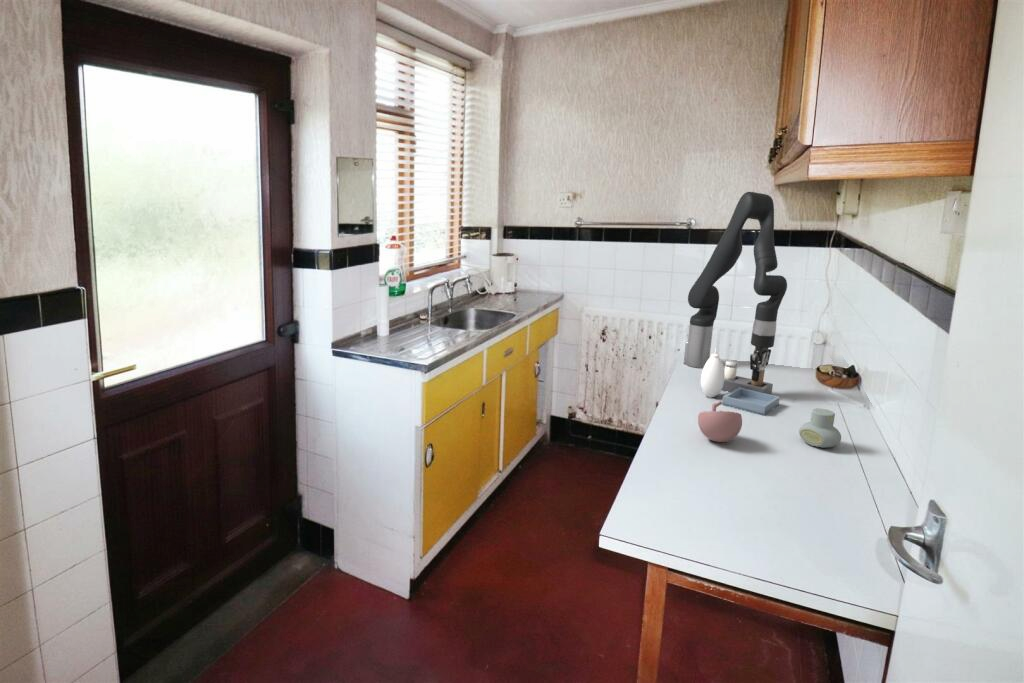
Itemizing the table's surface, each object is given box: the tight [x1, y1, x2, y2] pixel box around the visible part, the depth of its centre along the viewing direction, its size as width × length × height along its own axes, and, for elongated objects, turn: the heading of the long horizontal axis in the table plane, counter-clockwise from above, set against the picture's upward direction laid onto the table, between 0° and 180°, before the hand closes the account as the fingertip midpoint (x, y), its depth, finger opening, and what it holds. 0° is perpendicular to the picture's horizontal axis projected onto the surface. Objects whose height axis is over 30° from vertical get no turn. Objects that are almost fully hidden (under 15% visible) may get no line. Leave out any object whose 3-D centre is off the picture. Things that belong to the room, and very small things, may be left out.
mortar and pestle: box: [697, 400, 743, 443], centre depth 177 cm, size 12×12×11 cm
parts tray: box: [721, 387, 781, 416], centre depth 209 cm, size 14×14×3 cm
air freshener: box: [798, 407, 842, 449], centre depth 177 cm, size 11×8×10 cm
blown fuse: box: [750, 365, 766, 387], centre depth 220 cm, size 4×4×10 cm
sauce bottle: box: [700, 346, 725, 398], centre depth 215 cm, size 8×8×18 cm
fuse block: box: [721, 375, 774, 395], centre depth 224 cm, size 18×9×4 cm, turn 49°
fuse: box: [724, 360, 738, 381], centre depth 226 cm, size 4×4×10 cm
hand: (757, 379), depth 219 cm, fingers closed on blown fuse, 4 cm apart
